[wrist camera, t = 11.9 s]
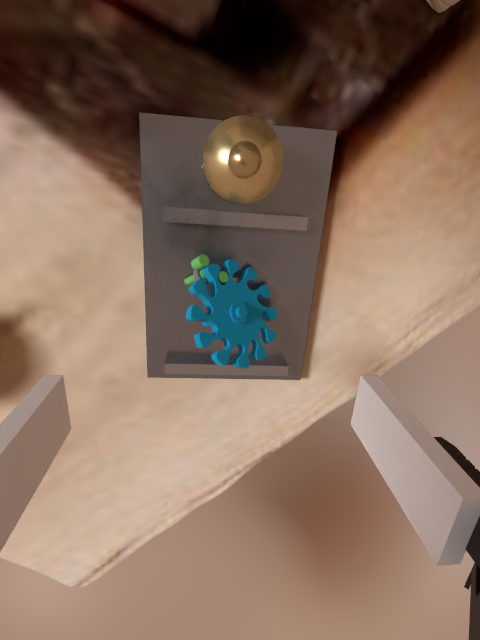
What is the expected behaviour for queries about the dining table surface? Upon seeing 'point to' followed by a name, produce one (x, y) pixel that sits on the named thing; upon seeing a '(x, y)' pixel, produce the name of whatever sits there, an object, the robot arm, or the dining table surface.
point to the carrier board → (230, 232)
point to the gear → (230, 311)
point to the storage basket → (441, 4)
